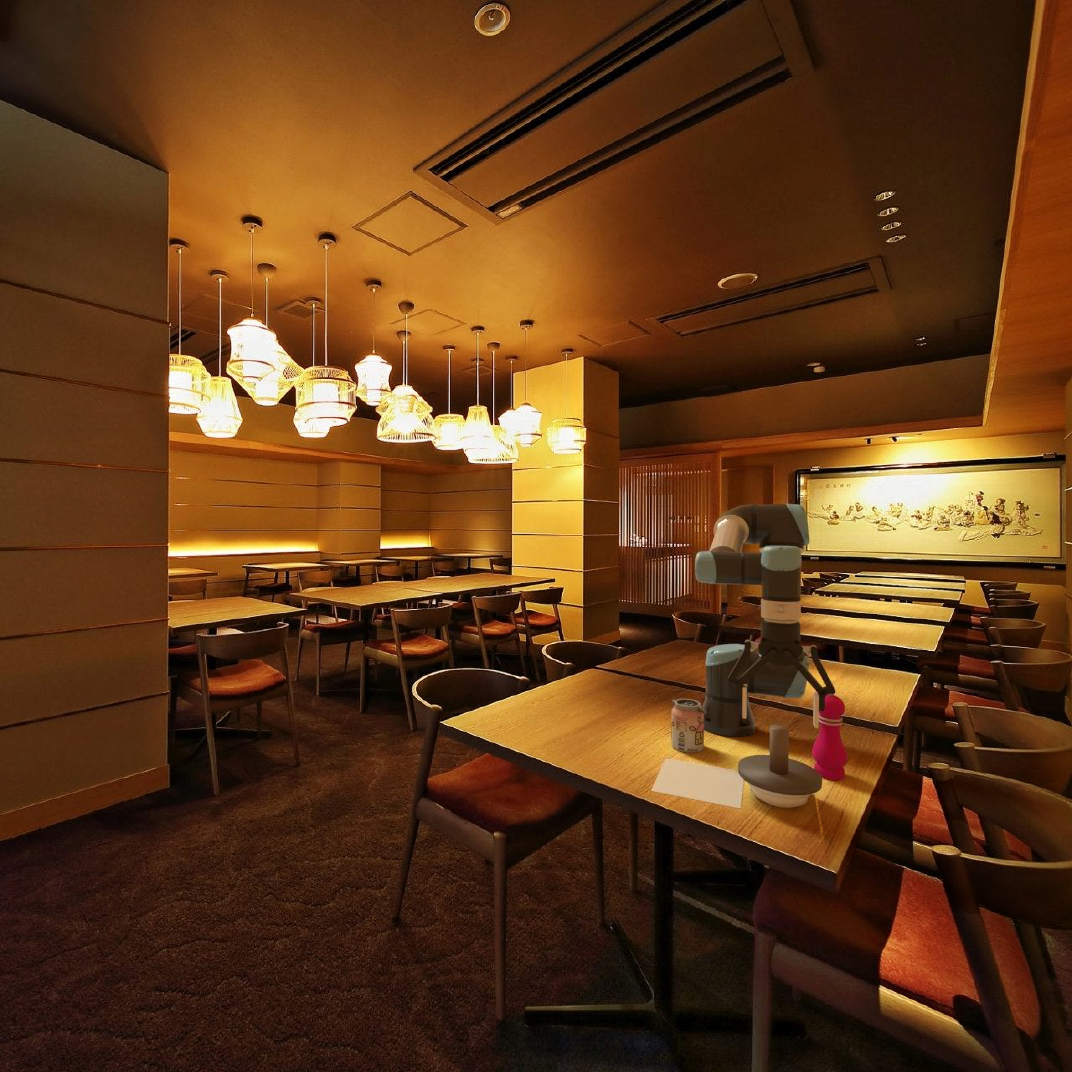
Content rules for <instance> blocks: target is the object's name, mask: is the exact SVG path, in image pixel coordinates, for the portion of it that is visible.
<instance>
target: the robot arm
mask: <svg viewBox="0 0 1072 1072" xmlns="http://www.w3.org/2000/svg"><path fill="white" fill-rule="evenodd" d="M809 533H810V531H809V523H808V517H807V513H806V508H805V507H804V506H803V505H801V504H794V503H793V504H792V503H787V502H786V503H771V504H769V503H767V504H765V503H764V504H752V503H751V504H743V505H739V506H736V507H733V508H731V509H729V510H728V511H726V512H724V513H723V514H721V515H720V516H719V517H718V518H717V520H716V521H715V523H714V526H713V536H714V537H713V540H712V543H711V545H710V547H709V550H706V551H705V550H704V551H698V552H697V553H696V556H695V559H694V560H695V561H694V573H695V579H696V581H697V582H699V583H703V584H705V583H706V584H710V585H739V586H740V585H742V586H743V585H744V586H745V585H746V586H761V595H760V596H761V598H760V617H761V618H762V620H761V621H760V640H759V642H758V641H757V642H756V641H752V640H751V639H749V638H748V639H745V641H744V644H740V643H728V644H727V643H726V644H719V645H714V646H712V647H710V648H708V649H707V651H706V656H705V657H706V659H705V662H704V665H705V699H704V701H703V705H702V706H703V708H704V709H705V710H706V711H707V713H706V715H704V731H707V732H710V733H712V734H716V735H720V736H728V737H744V736H745V737H746V736H750V735H752V734H754V733H755V732H756V721H755V718H754V715H753V712H752V708H751V706H750V705H751V704H750V702H749V701H750V700H749V697H750V696H749V695H750V694H751V695H758V696H765V697H774V698H775V697H776V698H782V699H796V700H797V699H798V700H799V699H801V698H803V697H804V695H805V694H806V688H807V683H809V685H810V686H811V687H812V688H813V690H814V692H813V718H812V719H813V721H812V722H813V723H812V724H813V728H814V729H819V728H820V722H819V714H820V713H819V711H824V710H825V696H826V695H828V694H834V693H835V694H836V689H835V686H834V684H833V682H832V681H831V679H830V676H829V675H828V673H827V671H826V669H825V667H824V665H823V663H822V661H821V659H820V658H819V653H818V647H817V646H816V644H811V645H802V643H801V623H800V619H801V613H802V612H801V611H802V609H801V607H802V605H801V604H802V603H801V601H802V600H801V599H802V598H801V591H802V589H801V586H802V565H803V561H802V553H804V549H805V548H804V546H807V545H809V544H810V534H809ZM745 544H747V545H748V544H749V545H752V544H753V545H758V547H759V548H758V550H759V552H754V551H753V552H749V551H748V552H747V551H745V552H744V551H743V548H744V547H743V546H744V545H745ZM756 649H757V651H755V650H756ZM804 653H805V654H806V655H804ZM810 658H811V659H812V660H811V661H812V663H813V664H814V666H815V667H816V670H817V672H818V673H819V676H820V677H821V680H822V682H823V684H824V685H825V686H822V685H821V684H820V683H819V681H818V680H817V679H816V678H815V677H814V675H813V674H812V673H811V671H809V668H810V667H809V666H810ZM815 691H816V692H815ZM835 694H834V695H835Z"/></svg>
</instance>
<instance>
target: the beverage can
mask: <svg viewBox="0 0 1072 1072" xmlns="http://www.w3.org/2000/svg"><path fill="white" fill-rule="evenodd" d="M671 704H672V705H673V707H672V709H671V720H670V721H671V722H670V723H671V726H670V727H671V730H670V731H671V732H670V733H671V736H670V737H671V740H670V742H671V743H670V745H671V747H672V748H673V749H674V750H676V751H678V752H682V753H687V754H697V753H700V752H702V751H703V750H704V748H705V729H704V715H706V713H707V711H706V710H705V709H704V708H703V705H702V703H701V702H700V701H699V700H695V699H691V698H678V699H672V701H671Z"/></svg>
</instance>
